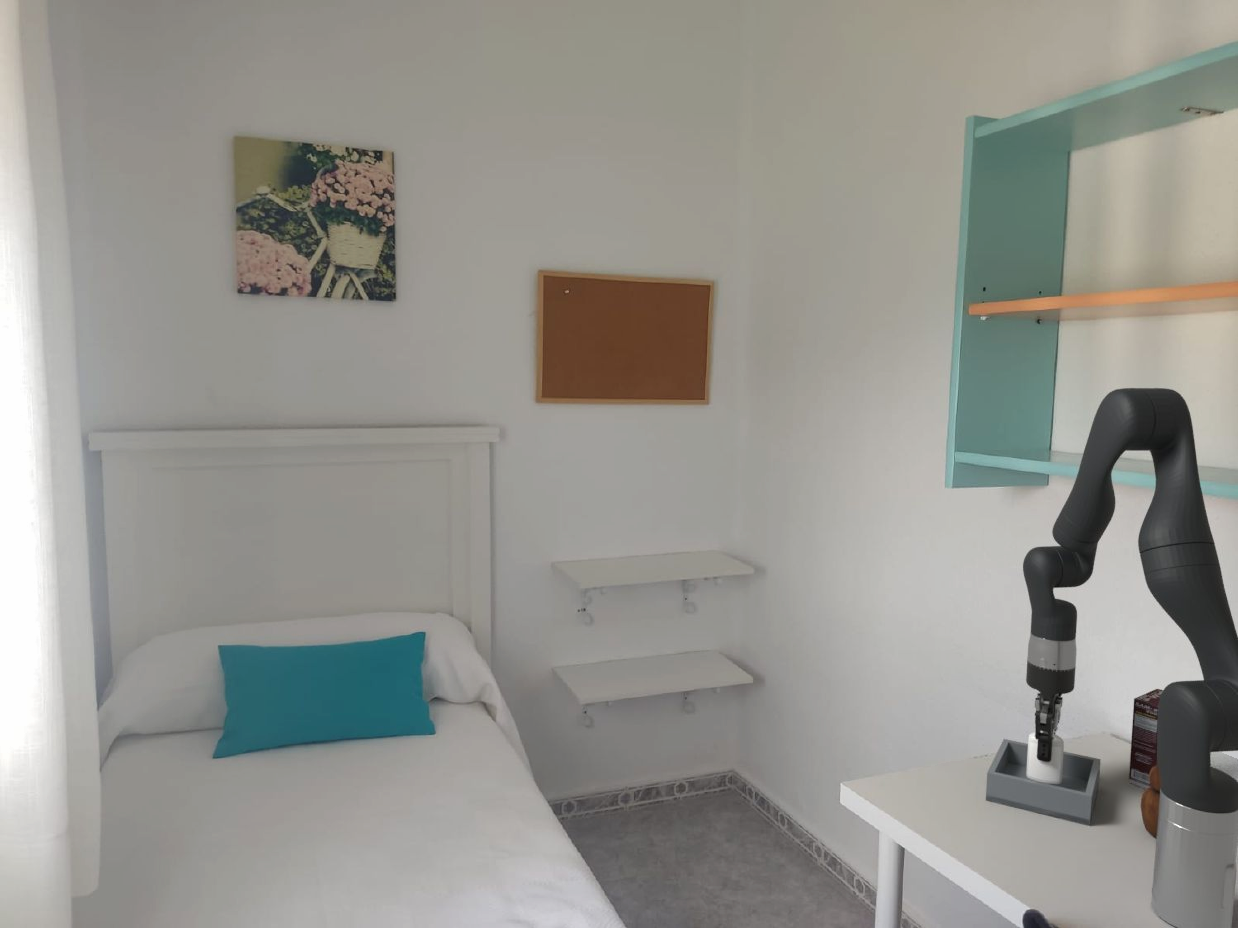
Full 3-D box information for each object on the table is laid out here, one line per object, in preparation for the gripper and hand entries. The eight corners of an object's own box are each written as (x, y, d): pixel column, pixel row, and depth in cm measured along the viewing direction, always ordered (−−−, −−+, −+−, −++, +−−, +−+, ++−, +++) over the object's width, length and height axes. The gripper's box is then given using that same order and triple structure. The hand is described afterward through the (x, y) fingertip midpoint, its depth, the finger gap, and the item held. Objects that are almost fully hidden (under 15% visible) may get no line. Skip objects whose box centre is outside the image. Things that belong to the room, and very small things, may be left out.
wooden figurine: (1190, 847, 142) (1197, 756, 140) (1149, 844, 143) (1156, 753, 141) (1173, 825, 149) (1180, 738, 147) (1134, 822, 150) (1140, 735, 148)
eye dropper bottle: (1052, 789, 156) (1056, 721, 154) (1021, 776, 160) (1025, 711, 159) (1066, 782, 158) (1070, 716, 157) (1035, 769, 163) (1039, 705, 161)
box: (1098, 785, 162) (1100, 759, 161) (1089, 825, 149) (1091, 796, 148) (1002, 764, 171) (1003, 738, 170) (985, 800, 157) (987, 772, 157)
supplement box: (1150, 769, 168) (1156, 687, 166) (1178, 780, 164) (1185, 695, 162) (1126, 782, 163) (1132, 697, 161) (1154, 793, 159) (1161, 706, 157)
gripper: (1070, 677, 149) (1064, 777, 151) (1080, 652, 160) (1074, 745, 163) (1021, 668, 153) (1015, 766, 155) (1033, 645, 164) (1028, 736, 167)
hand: (1045, 755), depth 159 cm, fingers closed on eye dropper bottle, 3 cm apart
